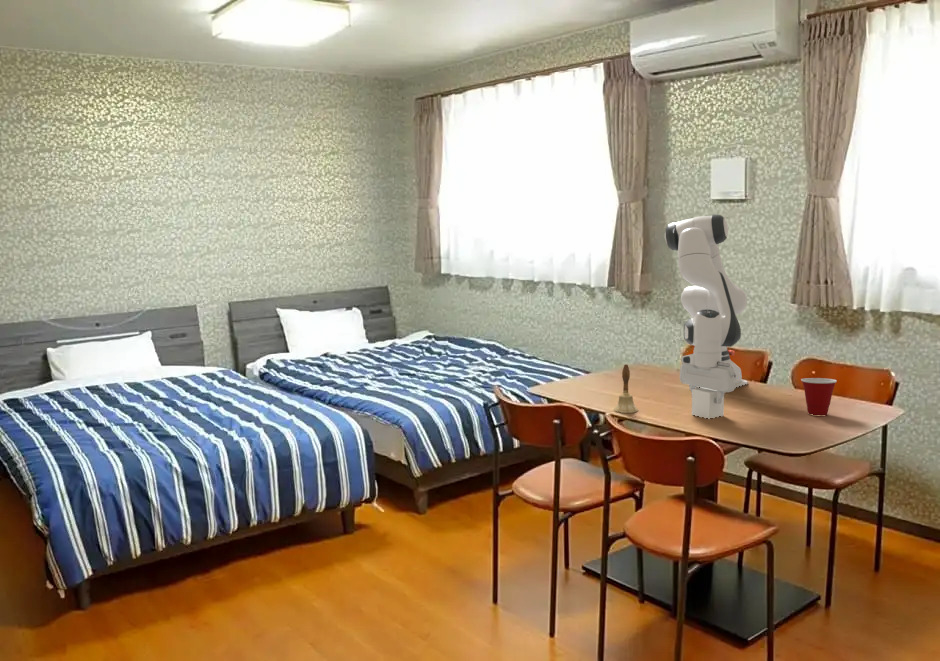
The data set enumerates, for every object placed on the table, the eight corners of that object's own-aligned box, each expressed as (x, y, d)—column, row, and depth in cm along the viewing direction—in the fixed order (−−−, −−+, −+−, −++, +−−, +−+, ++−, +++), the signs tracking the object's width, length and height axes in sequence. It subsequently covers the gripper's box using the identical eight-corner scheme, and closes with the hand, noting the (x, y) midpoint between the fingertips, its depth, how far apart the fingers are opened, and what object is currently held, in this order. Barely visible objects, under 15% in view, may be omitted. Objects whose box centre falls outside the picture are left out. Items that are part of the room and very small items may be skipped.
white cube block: (706, 411, 277) (706, 386, 276) (723, 415, 271) (724, 389, 270) (691, 415, 273) (692, 389, 272) (709, 419, 267) (709, 392, 266)
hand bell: (608, 409, 283) (609, 363, 281) (629, 406, 287) (629, 361, 284) (622, 414, 276) (622, 367, 274) (643, 411, 279) (643, 365, 277)
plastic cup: (827, 410, 276) (828, 375, 274) (840, 418, 265) (842, 381, 264) (794, 410, 276) (796, 375, 275) (806, 418, 266) (808, 382, 264)
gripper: (739, 363, 262) (738, 405, 264) (689, 354, 279) (689, 394, 281) (727, 365, 259) (726, 408, 261) (677, 356, 275) (676, 396, 277)
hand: (706, 400), depth 271 cm, fingers open, 8 cm apart
